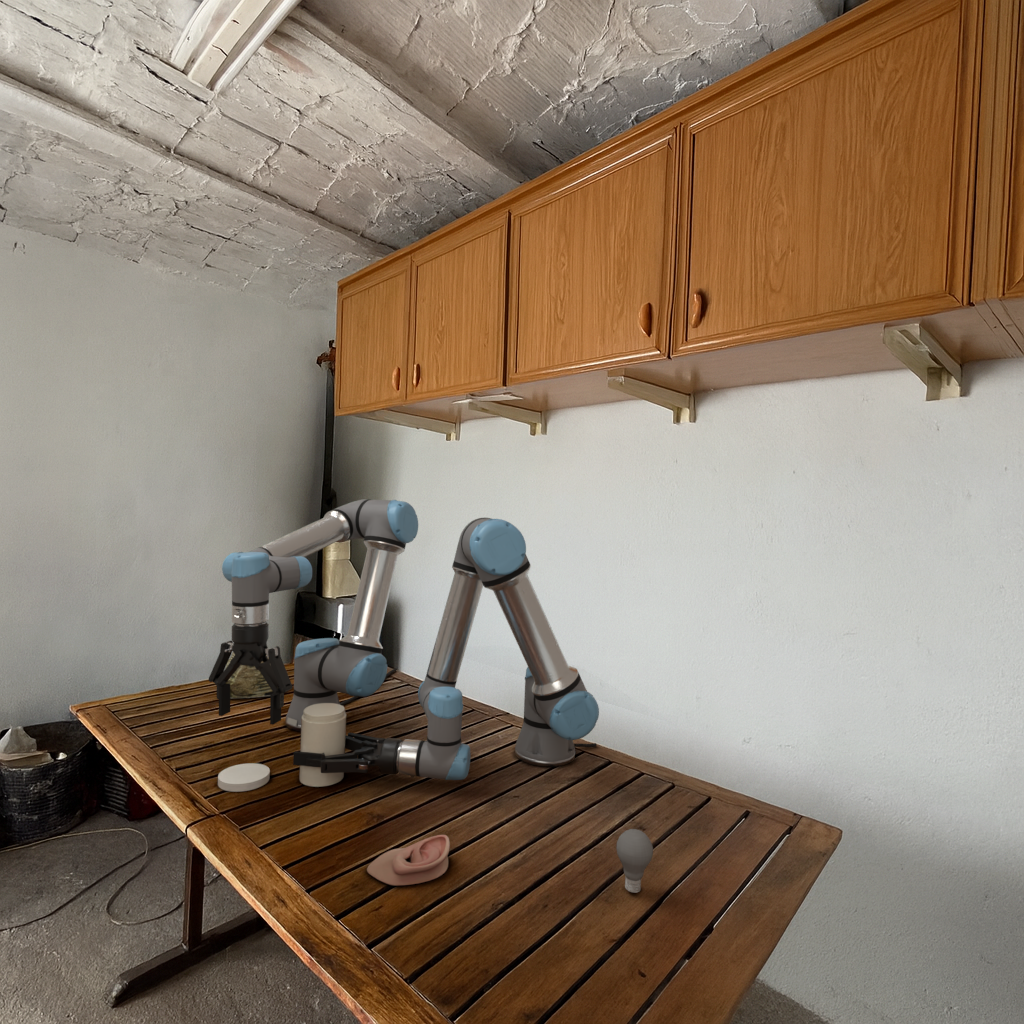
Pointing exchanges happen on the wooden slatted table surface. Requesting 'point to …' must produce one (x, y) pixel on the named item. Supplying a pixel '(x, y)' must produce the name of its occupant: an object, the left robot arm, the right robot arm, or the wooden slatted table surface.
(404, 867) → the anatomical model
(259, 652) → the left robot arm
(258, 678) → the fossil
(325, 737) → the jar
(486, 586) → the right robot arm
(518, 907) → the wooden slatted table surface
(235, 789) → the lid
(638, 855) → the light bulb
